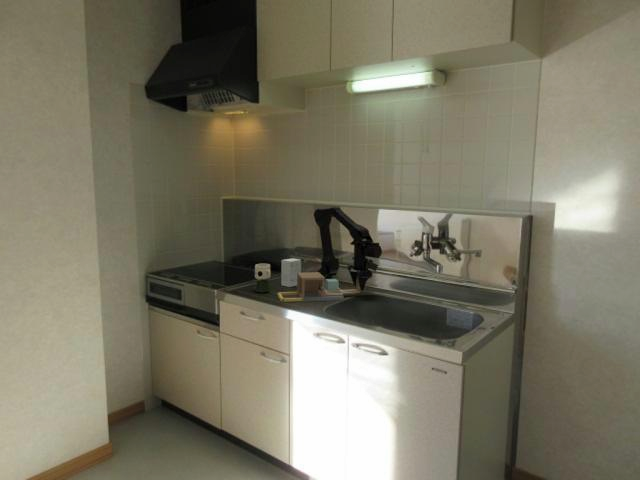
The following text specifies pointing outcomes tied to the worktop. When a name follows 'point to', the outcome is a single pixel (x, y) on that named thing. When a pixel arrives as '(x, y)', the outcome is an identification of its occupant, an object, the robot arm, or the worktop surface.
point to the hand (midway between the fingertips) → (358, 288)
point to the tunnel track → (308, 289)
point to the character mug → (262, 277)
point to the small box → (290, 271)
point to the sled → (340, 292)
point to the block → (331, 284)
